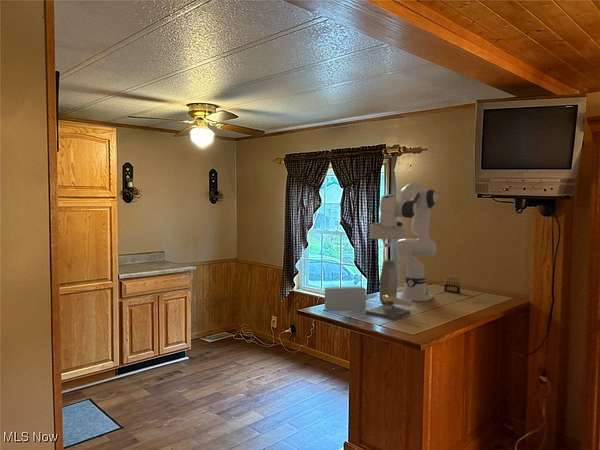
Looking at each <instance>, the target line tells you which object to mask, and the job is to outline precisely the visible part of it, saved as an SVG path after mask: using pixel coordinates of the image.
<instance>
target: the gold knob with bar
mask: <svg viewBox="0 0 600 450" xmlns="http://www.w3.org/2000/svg"><path fill="white" fill-rule="evenodd" d="M382 303H383V304H394V305H401V306H405V307H412V306H413V300H407V299H404V298H399V297H396V298H395V296H394V295H382ZM382 303H381V304H382ZM383 304H382V305H383Z"/></svg>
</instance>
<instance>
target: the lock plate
mask: <svg viewBox="0 0 600 450" xmlns="http://www.w3.org/2000/svg"><path fill="white" fill-rule="evenodd" d="M410 314H411V310H410V309H405V308H399V307H395V306H393V305H392V304H385V306H384V305H383V304H382V305H379V306H375V307H373V308H370V309H368V310H365V315H367V316H371V317H377V318H382V319H387V320H391V321H396V320H399V319H402V318H404V317H406V316H410Z"/></svg>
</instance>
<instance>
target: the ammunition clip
mask: <svg viewBox="0 0 600 450" xmlns="http://www.w3.org/2000/svg"><path fill="white" fill-rule="evenodd" d="M443 288H444V292H445V293H452V294H453V293H454V294H461V277H460V276H457V275H456V276H455V275H450V274H448V275H447V274H445V279H444V287H443Z"/></svg>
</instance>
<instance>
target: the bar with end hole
mask: <svg viewBox="0 0 600 450" xmlns="http://www.w3.org/2000/svg"><path fill="white" fill-rule="evenodd" d="M366 304H367V290H366V288H364V287H363V286H362V285H361V286H360V285H359V286H357V285H356V286H355V285H353V286H326V287H325V288H324V309H325V311H327V312H328V311H337V312H356V311H357V312H358V311H363V312H364V311H366V308H367V306H366Z"/></svg>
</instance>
